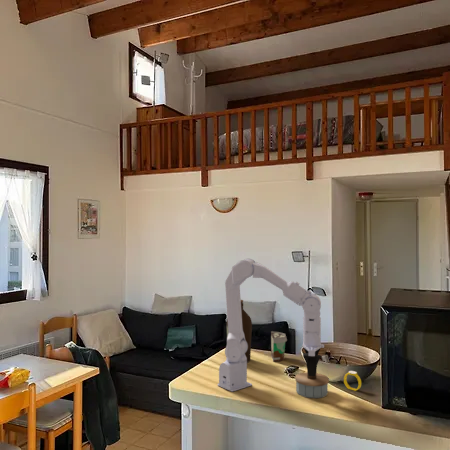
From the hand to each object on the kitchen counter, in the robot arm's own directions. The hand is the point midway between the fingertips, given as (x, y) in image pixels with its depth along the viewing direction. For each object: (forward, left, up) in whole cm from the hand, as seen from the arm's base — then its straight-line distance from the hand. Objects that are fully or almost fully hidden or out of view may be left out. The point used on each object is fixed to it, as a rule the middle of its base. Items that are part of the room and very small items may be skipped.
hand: (311, 371), depth 143 cm
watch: (+13, -7, -7) cm, 16 cm away
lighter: (+16, +4, -7) cm, 18 cm away
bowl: (0, 0, -7) cm, 7 cm away
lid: (0, 0, -3) cm, 3 cm away
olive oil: (+5, +42, -7) cm, 43 cm away
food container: (+20, +33, -7) cm, 39 cm away
